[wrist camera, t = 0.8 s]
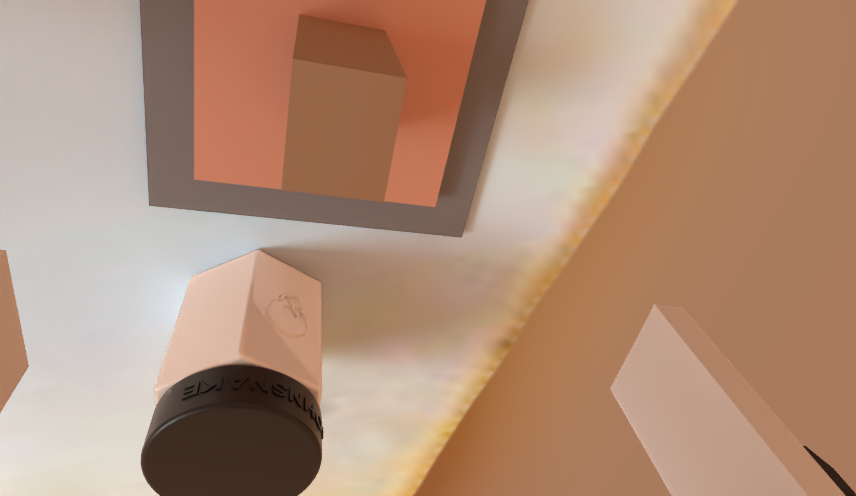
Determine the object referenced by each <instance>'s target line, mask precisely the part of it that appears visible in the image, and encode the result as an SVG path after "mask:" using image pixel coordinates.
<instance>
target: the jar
mask: <svg viewBox="0 0 856 496" xmlns="http://www.w3.org/2000/svg"><path fill="white" fill-rule="evenodd" d="M154 394H155V403H156V408H155V411H154V414H153V417H152V420H151V423H150V427H149V430H148V433H147V436H146V439H145V443H144V446H143V449H142V453H141V468H142V472H143V475H144V477H145V479H146V480H147V482H148V484H149V485H150V486H151V488H152V489H153V490H154V491H155V492H156V493H158V494H159V495H160V496H298V495H299V494H300V493H302V492H303V491H304V490H305V489H306V488H307V487H308V486H309V485H310V484H311V483H312V481H313V480H314V478H315V477H316V475H317V473H318V471H319V468H320V465H321V460H322V439H323V427H322V418H321V411H320V404H321V394H322V325H321V283H320V282H319V281H317V280H315V279H313V278H311V277H309V276H308V275H306V274H304V273H302V272H300V271H298V270H296V269H294V268H292V267H290V266H288V265H287V264H285V263H283V262H281V261H279V260H277V259H275V258H273V257H271V256H270V255H268V254H266V253H264V252H262V251H260V250H255V251H253V252H250V253H248V254H246V255H243V256H241V257H238V258H236V259H233V260H231V261H228V262H226V263H223V264H221V265H219V266H216V267H214V268H211V269H209V270H206V271H204V272H201V273H199V274H196V275H194V276H192V277H191V278H190V281H189V284H188V287H187V290H186V293H185V296H184V299H183V302H182V305H181V308H180V311H179V314H178V317H177V320H176V323H175V326H174V329H173V332H172V336H171V339H170V342H169V345H168V348H167V351H166V354H165V357H164V360H163V363H162V366H161V369H160V372H159V375H158V378H157V381H156V384H155V387H154Z"/></svg>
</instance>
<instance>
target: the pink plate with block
mask: <svg viewBox="0 0 856 496" xmlns="http://www.w3.org/2000/svg"><path fill="white" fill-rule="evenodd" d="M485 4H486V0H194V180H203V181H211V182H220V183H229V184H238V185H246V186H255V187H264V188H273V189H281V190H283V191H291V192H300V193H309V194H318V195H326V196H335V197H344V198H353V199H361V200H370V201H379V202H384V201H386V202H395V203H403V204H412V205H421V206H430V207H435V206H436V202H437V198H438V194H439V190H440V186H441V182H442V178H443V174H444V170H445V166H446V162H447V158H448V153H449V149H450V145H451V141H452V137H453V133H454V129H455V125H456V121H457V117H458V113H459V109H460V105H461V101H462V97H463V93H464V89H465V85H466V81H467V76H468V72H469V68H470V64H471V60H472V56H473V52H474V48H475V44H476V40H477V36H478V32H479V28H480V24H481V20H482V16H483V12H484V8H485Z"/></svg>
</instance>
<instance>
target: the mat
mask: <svg viewBox="0 0 856 496" xmlns="http://www.w3.org/2000/svg"><path fill="white" fill-rule="evenodd" d="M527 4H528V0H486V4H485V8H484V12H483V16H482V20H481V24H480V28H479V32H478V36H477V40H476V44H475V48H474V52H473V56H472V60H471V64H470V68H469V72H468V76H467V81H466V85H465V89H464V93H463V97H462V101H461V105H460V109H459V113H458V117H457V121H456V125H455V129H454V133H453V137H452V141H451V145H450V149H449V153H448V158H447V162H446V166H445V170H444V174H443V178H442V182H441V186H440V190H439V194H438V198H437V202H436V206H435V207H430V206H421V205H412V204H403V203H395V202H386V201H384V202H379V201H370V200H361V199H353V198H344V197H335V196H326V195H318V194H309V193H300V192H291V191H283V190H281V189H273V188H264V187H255V186H246V185H238V184H229V183H220V182H211V181H203V180H194V0H140V15H141V36H142V58H143V80H144V102H145V124H146V146H147V168H148V189H149V206H158V207H168V208H178V209H188V210H197V211H207V212H217V213H227V214H237V215H247V216H256V217H266V218H276V219H286V220H296V221H306V222H315V223H325V224H335V225H345V226H355V227H365V228H374V229H384V230H394V231H404V232H414V233H424V234H433V235H443V236H453V237H462V234H463V231H464V227H465V224H466V220H467V216H468V213H469V209H470V206H471V202H472V199H473V195H474V192H475V188H476V185H477V181H478V177H479V174H480V170H481V167H482V163H483V160H484V156H485V153H486V149H487V146H488V142H489V139H490V135H491V131H492V128H493V124H494V121H495V117H496V114H497V110H498V107H499V103H500V100H501V96H502V92H503V89H504V85H505V82H506V78H507V75H508V71H509V68H510V64H511V61H512V57H513V54H514V50H515V46H516V43H517V39H518V36H519V32H520V29H521V25H522V22H523V18H524V15H525V11H526V8H527Z"/></svg>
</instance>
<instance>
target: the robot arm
mask: <svg viewBox="0 0 856 496" xmlns="http://www.w3.org/2000/svg"><path fill="white" fill-rule="evenodd" d="M28 366H29V365H28V360H27V355H26V350H25V345H24V340H23V335H22V330H21V325H20V320H19V315H18V310H17V305H16V300H15V295H14V290H13V284H12V279H11V274H10V269H9V264H8V259H7V254H6V250H0V412H1V411H2V409H3V407H4V406H5V404H6V403H7V401H8V399H9V398H10V396H11V394H12V393H13V391H14V389H15V388H16V386H17V384H18V383H19V381H20V380H21V378H22V376H23V375H24V373H25V371H26V370H27V368H28ZM610 390H611V391H612V393H613V395H614V397H615V398H616V400H617V402H618V403H619V405H620V407H621V409H622V410H623V412H624V414H625V416H626V417H627V419H628V421H629V423H630V424H631V426H632V427H633V429H634V431H635V433H636V435H637V436H638V438H639V440H640V442H641V443H642V445H643V447H644V448H645V450H646V452H647V454H648V455H649V457H650V459H651V461H652V462H653V464H654V466H655V468H656V469H657V471H658V473H659V475H660V476H661V478H662V479H663V481H664V483H665V485H666V487H667V488H668V490H669V492H670V494H671V495H672V496H856V494H855V493H854V491H853V490H852V489H851V488H850V487H849V486H848V485H847V484H846V482H845V481H844V480H843V479H842V478H841V477H840V475H839V474H838V473H837V472H836V471H835V470H834V469H833V468H832V467H831V466H830V465H828V464H827V463H826V462H825V461H823V460H822V459H821V458H820V457H818V456H817V455H816V454H814V453H813V452H812V451H811V450H810V449H808V448H807V447H806V446H802V445H801V444H800V442H799V441H798V440H797V439H796V438H795V437H794V435H793V434H792V433H791V432H790V431H789V430H788V428H786V426H785V425H784V424H783V423H782V421H781V420H780V419H779V418H778V417H777V416H776V415H775V413H774V412H773V411H772V410H771V409H770V408H769V406H768V405H767V404H766V403H765V402H764V401H763V400H762V398H761V397H760V396H759V395H758V394H757V392H756V391H755V390H754V389H753V388H752V387H751V386H750V384H749V383H748V382H747V381H746V380H745V379H744V378H743V376H742V375H741V374H740V373H739V372H738V370H737V369H736V368H735V367H734V366H733V365H732V364H731V362H730V361H729V360H728V359H727V358H726V357H725V355H724V354H723V353H722V352H721V351H720V350H719V348H718V347H717V346H716V345H715V344H714V343H713V342H712V340H711V339H710V338H709V337H708V336H707V335H706V333H705V332H704V331H703V330H702V329H701V328H700V326H699V325H698V324H697V323H696V322H695V321H694V319H692V317H691V316H690V315H689V314H688V313H687V311H686V310H685V309H684V308H683V307H680V306H668V305H656V304H655V305H654V306H653V308H652V310H651V312H650V314H649V316H648V318H647V320H646V321H645V323H644V325H643V327H642V329H641V331H640V333H639V335H638V337H637V338H636V340H635V343H634V344H633V346H632V348H631V350H630V352H629V354H628V356H627V357H626V359H625V361H624V363H623V365H622V367H621V369H620V371H619V373H618V374H617V376H616V379H615V380H614V382H613V384H612V386H611V388H610Z"/></svg>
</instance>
